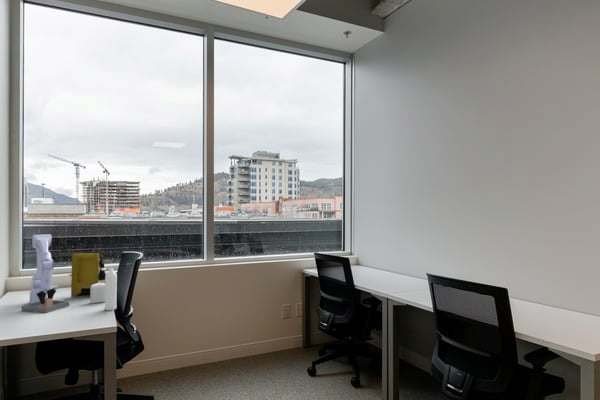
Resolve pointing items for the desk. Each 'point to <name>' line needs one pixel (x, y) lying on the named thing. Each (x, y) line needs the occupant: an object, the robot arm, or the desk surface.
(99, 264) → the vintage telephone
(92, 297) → the photo printer
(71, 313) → the desk surface
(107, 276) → the white spray bottle
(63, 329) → the desk surface
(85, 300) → the desk surface
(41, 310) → the bin
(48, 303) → the terracotta block
